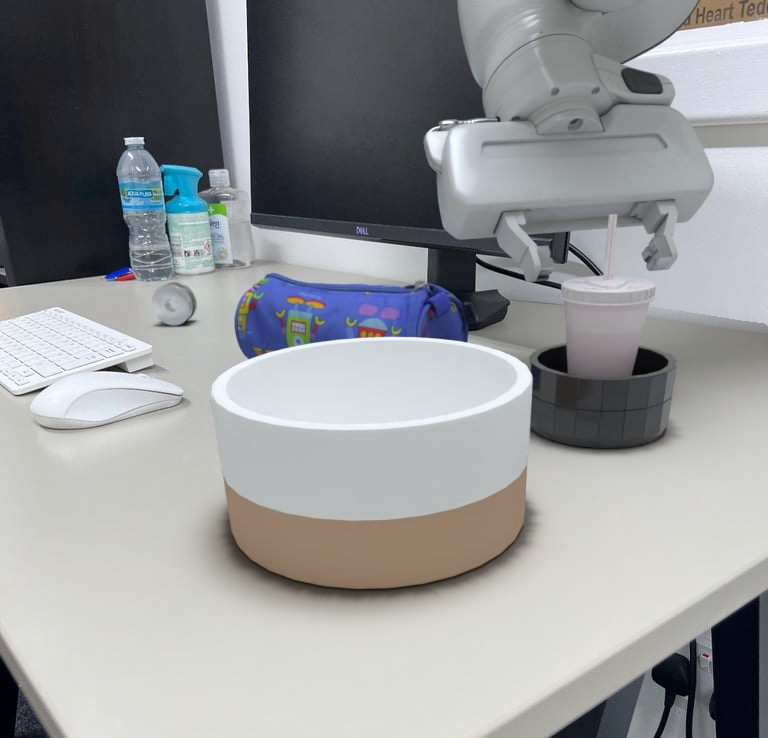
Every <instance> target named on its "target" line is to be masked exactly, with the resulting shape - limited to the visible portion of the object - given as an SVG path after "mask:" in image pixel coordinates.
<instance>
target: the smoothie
mask: <svg viewBox="0 0 768 738" xmlns="http://www.w3.org/2000/svg"><path fill="white" fill-rule="evenodd" d="M616 224H617V214H610V215H609V218H608V228H606V229H607V231H606V242H605V251H604V252H605V253H604V262H603V263H604V264H603V274H601V275H591V276H580V277H573V278H570V279H567V280H564V281H563V282H561V285H560V294H559V299H560V300H562V302H563V301H564V303H563V304H564V325H565V344H566V346H567V366H568V374H575V375H581V376H595V377H628V376H631V375H632V371H633V367H634V363H635V359H636V355H637V351H638V347H639V345H640V343H641V338H642V334H643V331H644V328H645V323H646V319H647V315H648V310H649V306H650V303H651V302H653V301H655V300H656V299H657V297H656V289H657V284H656V282H655V281H653V280H650V279H647V278H642V277H637V276H636V277H635V276H627V275H626V276H625V275H612V274H613V265H614V255H615V243H616V234H617V228H616Z"/></svg>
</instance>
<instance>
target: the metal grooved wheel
mask: <svg viewBox="0 0 768 738" xmlns="http://www.w3.org/2000/svg"><path fill="white" fill-rule="evenodd" d="M171 300H172V301H173V302H174V303H175V304H176V305H175V306H176V308H174V307H172V305H171ZM151 307H152V310H153V313H154V314H155V316H156V317H157V318H158V320H159V321H161V323H164V324H166V325H169V326H173V327H174V326H180V325H183V324H184V323H186V322H188V321H189V320H191V319H192V318H193V317H194V316H195V314H196V312H197V308H198V302H197V298H196V295H195V293H194V292H193V290H192V289H191V288H190V287H189V286H188V285H187V284H184V283H183V282H179V281H172V282H169V283H166V284H164V285H161V286H159V287H158V288H156V290H155V291H154V292H153V294H152V296H151Z"/></svg>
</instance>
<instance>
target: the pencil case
mask: <svg viewBox="0 0 768 738" xmlns="http://www.w3.org/2000/svg"><path fill="white" fill-rule="evenodd" d="M479 321H480V319H479V317H478V314H477V313H476V310H475V307H474V304H473V302H469V301H463V302H461V300H459V298H458V297H456V296H455V295H454V294H453V293H452V292H450V291H448V290H447V289H445V288H444V287H441V286H439V285H435V284H434V283H429V282H426V279H423V278H421V279H417V280H415V282H414V283H413V282H412V283H407V284H404V286H400V285H393V284H391V285H390V284H377V285H374V284H364V283H348V284H347V283H345V284H344V283H324V282H308V281H307V282H306V281H303V280H302V281H301V280H297V279H293V278H289V277H287V276H284V275H282V274H279V273H277V272H271V273H267V274H266V275H265V276H264V278H261V279H260V280H259V281H258V282H257V283H254V284H253V285H252V287H250V288H249V289H248V290H246V291H245V292H244V293H243V295H242V296H240V299H239V301H238V302H237V305H236V309H235V314H234V324H233V325H234V334H235V338H236V341H237V344H238V347H239V349H240V351H241V353H242V354H243V355H244V356H245V358H247V360H249V359H251V358H254V357H257V356H260V355H263V354H266V353H269V352H273V351H277V350H281V349H285V348H289V347H294V346H300V345H305V344H311V343H317V342H325V341H333V340H342V339H354V338H372V337H418V338H434V339H444V340H453V341H461V342H466V343H469V342H468V340H469V323H471V324H474V325H476V324H477V323H479Z"/></svg>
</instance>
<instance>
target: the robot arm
mask: <svg viewBox="0 0 768 738" xmlns="http://www.w3.org/2000/svg"><path fill="white" fill-rule="evenodd" d="M700 1H701V0H457V15H458V21H459V28H460V33H461V38H462V42H463V46H464V50H465V54H466V58H467V62H468V65H469V67H470V71H471V74H472V76H473V78H474V80H475V82H476V84H478V86H479V87H480V88H481V90H482V96H481V97H482V98H481V99H482V100H481V101H482V102H481V103H482V108H483V112H484V115H485V117H475V118H470V119H464V120H461V119H460V120H458V119H454V118H451V119H450V118H449V119H444V120H441V121H439V122H438V124H437V126H433V127H432V128H430V129H428V130H427V132H426V133H425V135H424V137H423V148H424V153H425V157H426V160H427V162H428V165H429V166H430V167H431V169H432V170H433V171H435V172H436V192H437V200H438V207H439V214H440V220H441V224H442V227H443V230H445V231H446V232H447V233H448V234H449V235H451V236H452V237H453V238H455V239H456V240H460V241H461V240H462V241H463V240H476V239H477V240H478V239H490V238H496V241H497V244H498V247H499V248H500V249H501V250H502V251H504V252H505V253H506V254H507V255H508V256H509V257H510V258H512V259H513V260H514V261H515V262H516V263H517V264H519V265H520V267H521V270H522V272H523V276H524V280H525V281H526V283H534V282H542V281H548V280H549V279H550V275H551V274H552V273H553V272H554V269H555V261H554V259H553V257H551V255H552V252H551V250H550V247H549V245H538V244H537V243H536V242H535V241H534V240H533V239H532V238H531V237H530V236H529V235H541V234H552V233H554V234H555V233H566V232H579V231H592V230H605V229H608V218H609V215H610V214H617V224H616V229H619V228H631V227H644V230H645V232H646V234H647V235H653V237H652V238H651V239H650V241H649V242H648V245H647V246H646V247H644V249H643V251H642V252H641V256H642V260H643V262H645V263H646V264H645V267H646V270H647V271H648V272H656V271H657V272H658V271H667V270H670V269H671V267H672V266H673V265H674V264H675V262H676V261H677V260H678V256H679V253H678V249H677V247H676V244H675V242H674V241H675V240H674V239H673V236H674V232H675V228H676V225H677V224H684V223H687V222H689V221H690V220H691V219H692V218H693V217H694V216H695V215H696V214H697V212H698V211H699V210H700V209H701V207H702V206H703V204H704V203H705V201H706V200H707V199H708V197H709V196H710V194H711V192H712V190H713V187H714V185H715V175H714V171H713V168H712V166H711V163H710V161H709V158H708V156H707V153H706V152H705V149H704V147H703V144H702V143H701V141H700V139H699V136H698V135H697V132H696V130H695V129H694V127H693V125H692V124H691V122H690V120H689V119H688V118H687V117H686V115H684V114H683V113H682V112H680V111H679V110H678V109H676V108H674V107H672V106H671V105H672V104H673V102H674V99H675V97H676V89H675V86H674V83H673V82H672V80H671V79H670V78H669V77H667V76H665V75H662V74H659V73H656V72H651V71H646V70H642V69H638V68H634V67H631V66H628V65H625V64H626V63H629V62H631V61H633V60H635V59H637V58H638V57H640V56H642V55H644V54H646V53H648V52H650V51H651V50H654V49H655V48H657V47H659V46H660V45H662V44H663V43H664V42H666V41H667V40H669V39H670V38H671V37H672V36H674V35H675V34H676V33H677V31H678V32H679V30H680V29H681V28H682V27H683V26H684V25H685V24H686V22H687V21H688V20H689V18H690V17H691V16H692V15H693V13H694V12H695V10H696V8H697V7H698V5H699V3H700Z"/></svg>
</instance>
